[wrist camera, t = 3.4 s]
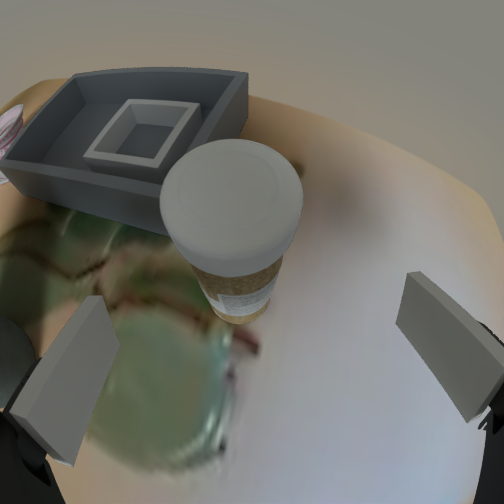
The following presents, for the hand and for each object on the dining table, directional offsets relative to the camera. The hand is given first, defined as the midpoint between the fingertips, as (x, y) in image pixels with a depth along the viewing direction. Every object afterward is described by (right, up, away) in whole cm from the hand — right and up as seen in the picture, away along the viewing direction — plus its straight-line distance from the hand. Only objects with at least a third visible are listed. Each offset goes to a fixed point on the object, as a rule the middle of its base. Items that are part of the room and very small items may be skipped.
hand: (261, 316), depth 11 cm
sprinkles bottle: (-1, -1, +10) cm, 10 cm away
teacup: (-35, +17, +17) cm, 42 cm away
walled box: (-15, +13, +15) cm, 25 cm away
